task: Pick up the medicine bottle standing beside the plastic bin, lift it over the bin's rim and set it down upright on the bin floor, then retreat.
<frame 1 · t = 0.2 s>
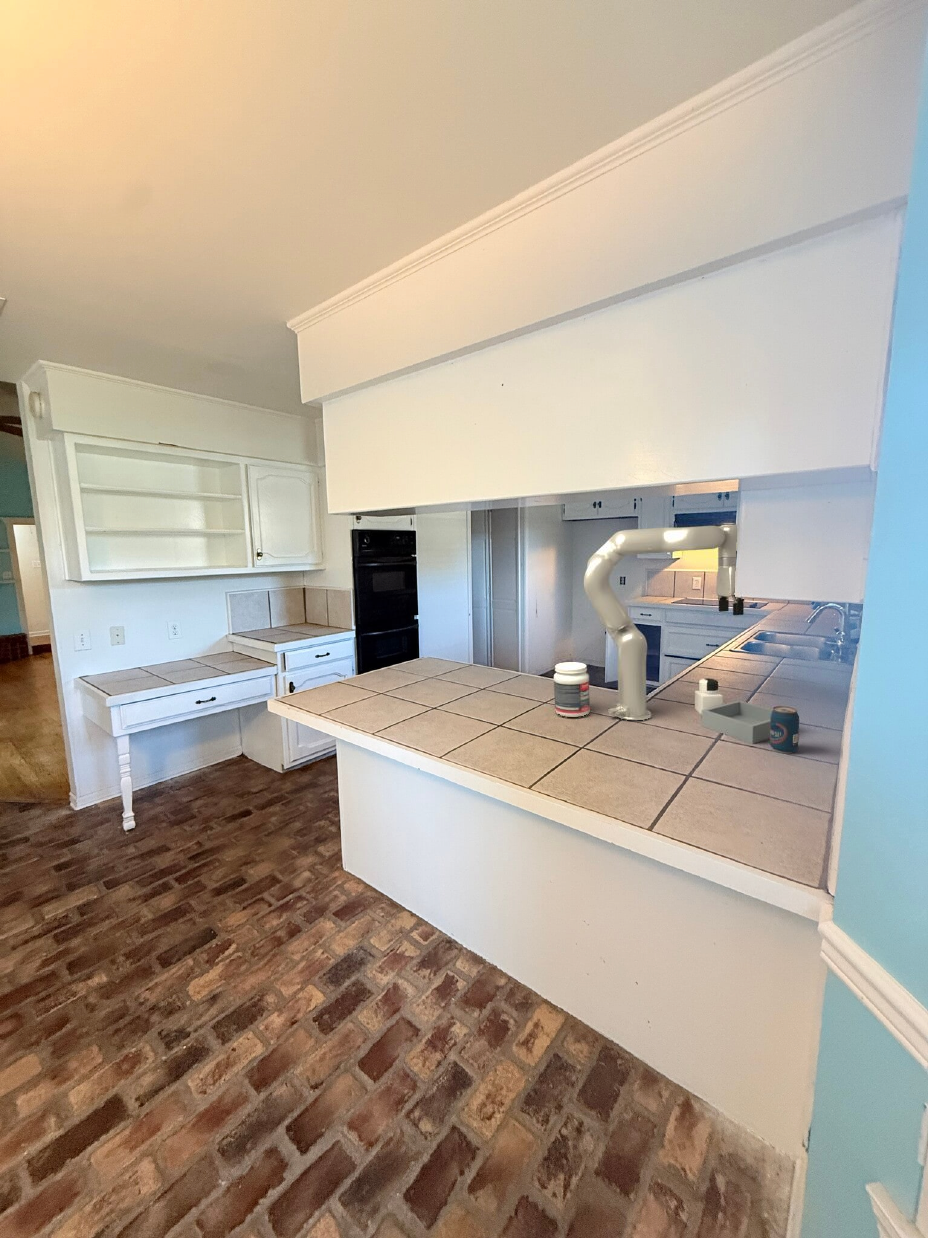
hand: (730, 613, 166), 36 cm above the table, tool pointing down, fingers open, 9 cm apart
supplement tub: (572, 714, 183), on the table
bin: (745, 728, 158), on the table
soda can: (783, 749, 142), on the table
medicine bottle: (708, 712, 175), on the table
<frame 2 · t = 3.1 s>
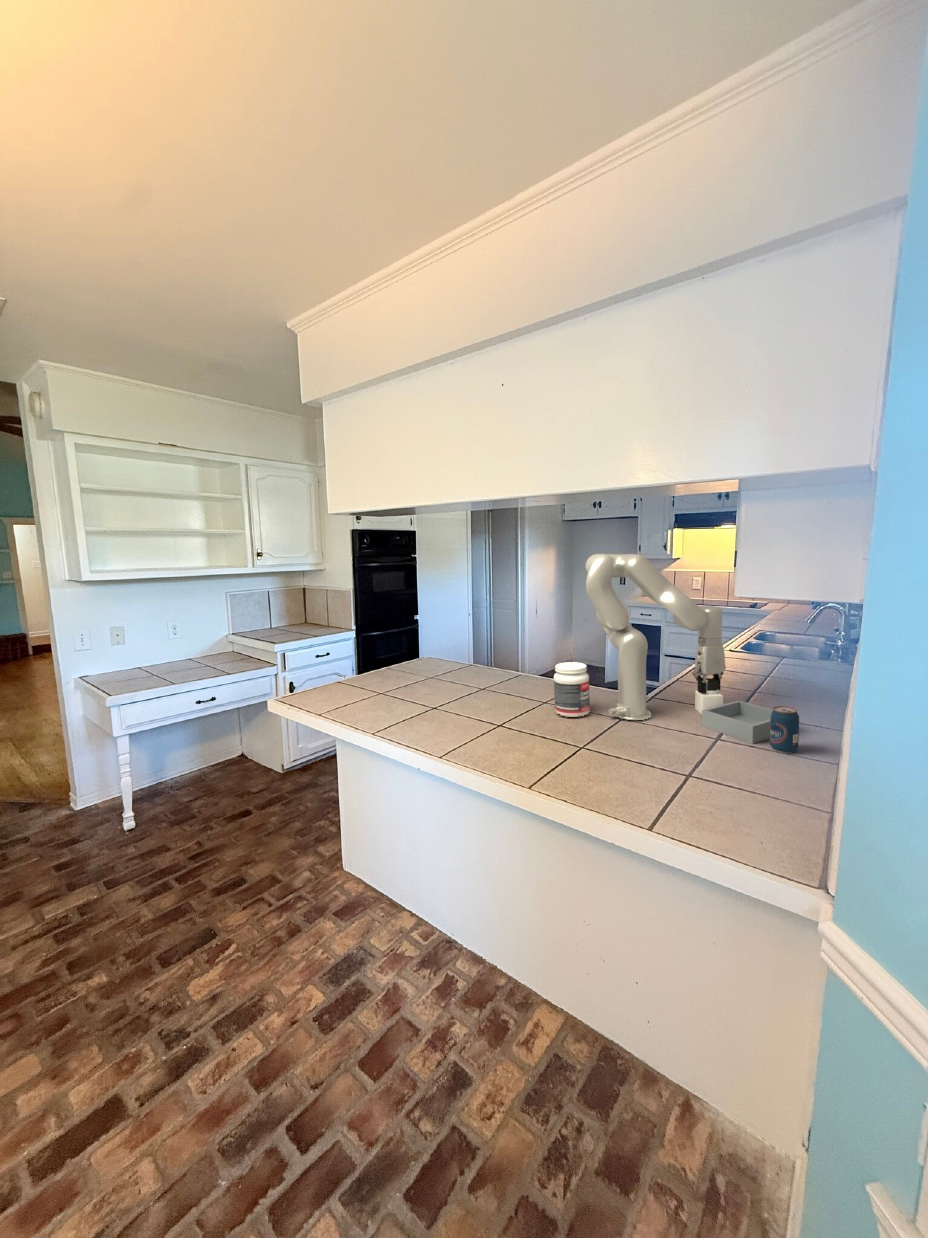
hand: (708, 690, 174), 8 cm above the table, tool pointing down, fingers closed on medicine bottle, 6 cm apart
medicine bottle: (708, 712, 175), on the table, touching gripper
everything else where it was.
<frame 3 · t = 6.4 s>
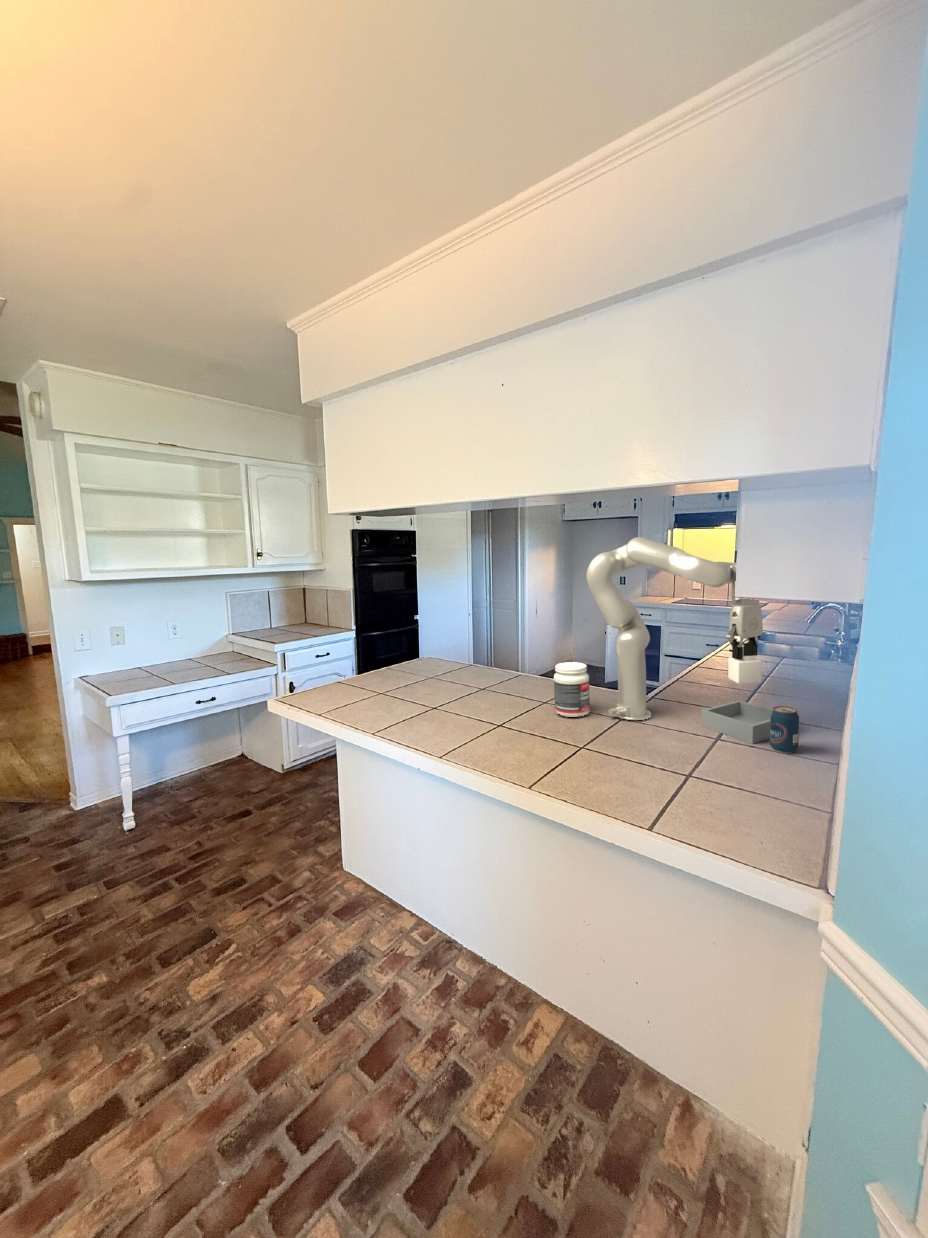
hand: (744, 656, 156), 24 cm above the table, tool pointing down, fingers closed on medicine bottle, 6 cm apart
medicine bottle: (744, 681, 157), point 16 cm above the table, touching gripper
everything else where it was.
when the fingers open (10 cm above the table, at t = 9.5 s): medicine bottle drops 1 cm, resting on bin.
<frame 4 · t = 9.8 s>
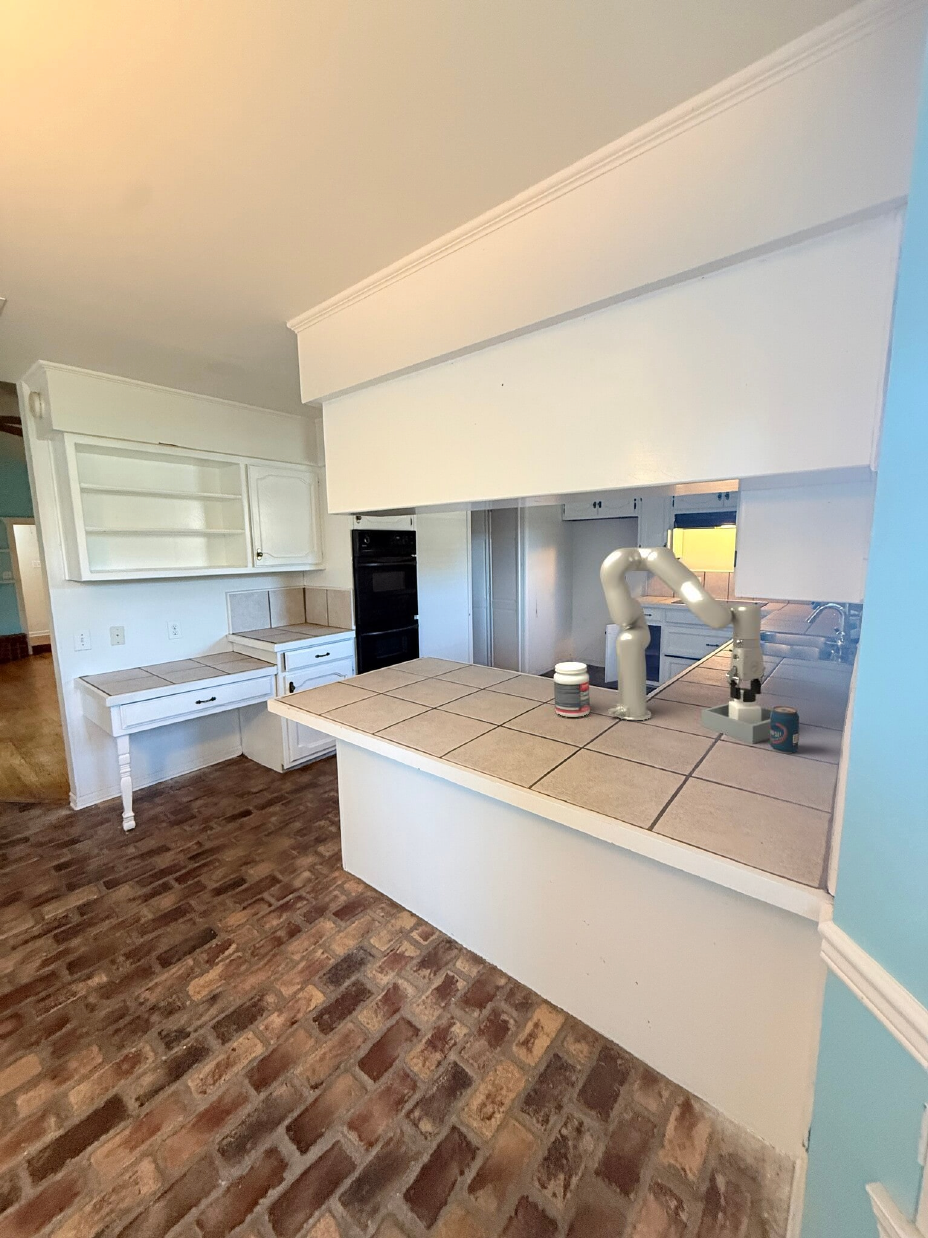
hand: (745, 695, 157), 11 cm above the table, tool pointing down, fingers open, 9 cm apart
medicine bottle: (744, 726, 158), point 1 cm above the table, touching bin
everything else where it was.
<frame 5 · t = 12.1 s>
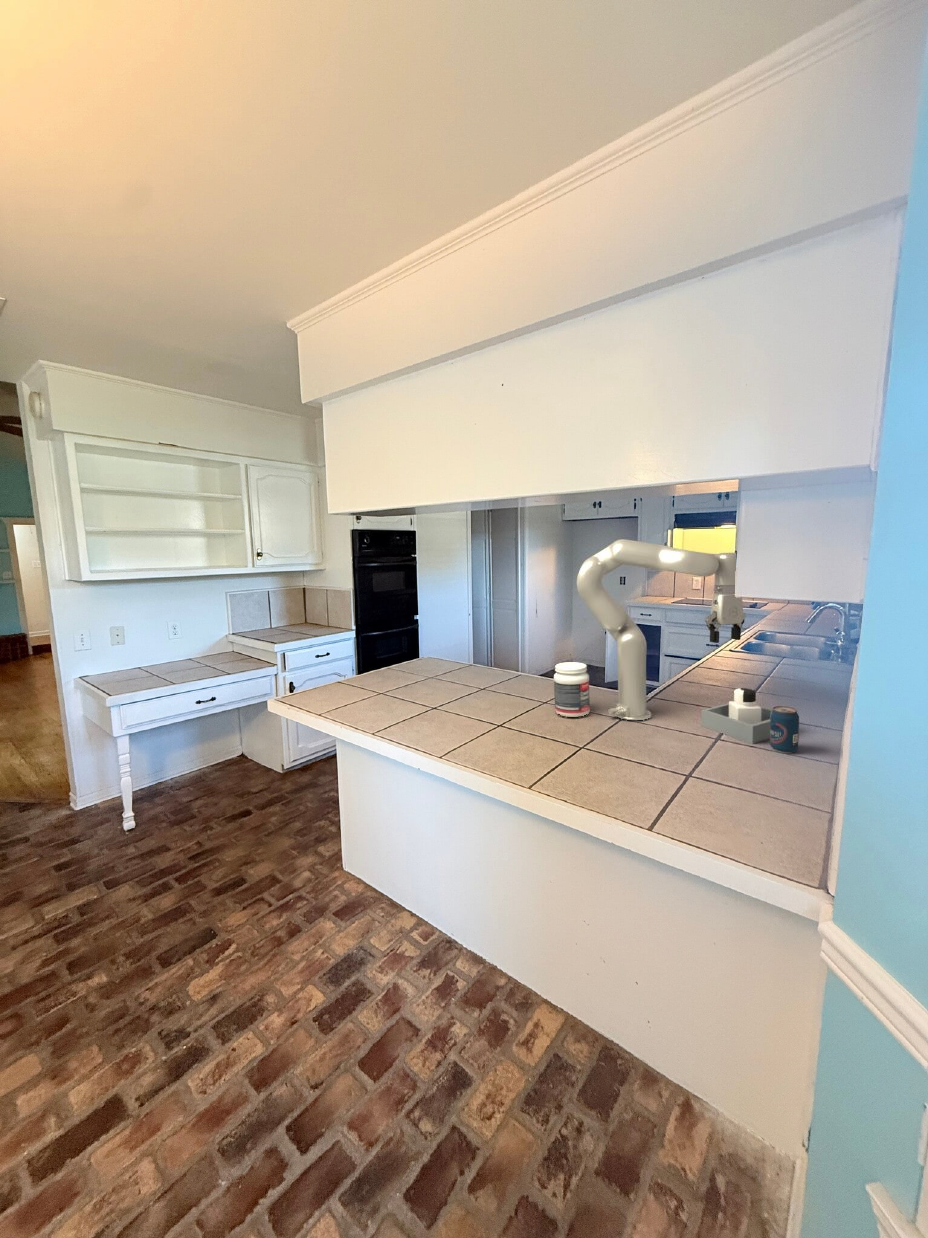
hand: (725, 640, 165), 27 cm above the table, tool pointing down, fingers open, 9 cm apart
nothing on the table moved.
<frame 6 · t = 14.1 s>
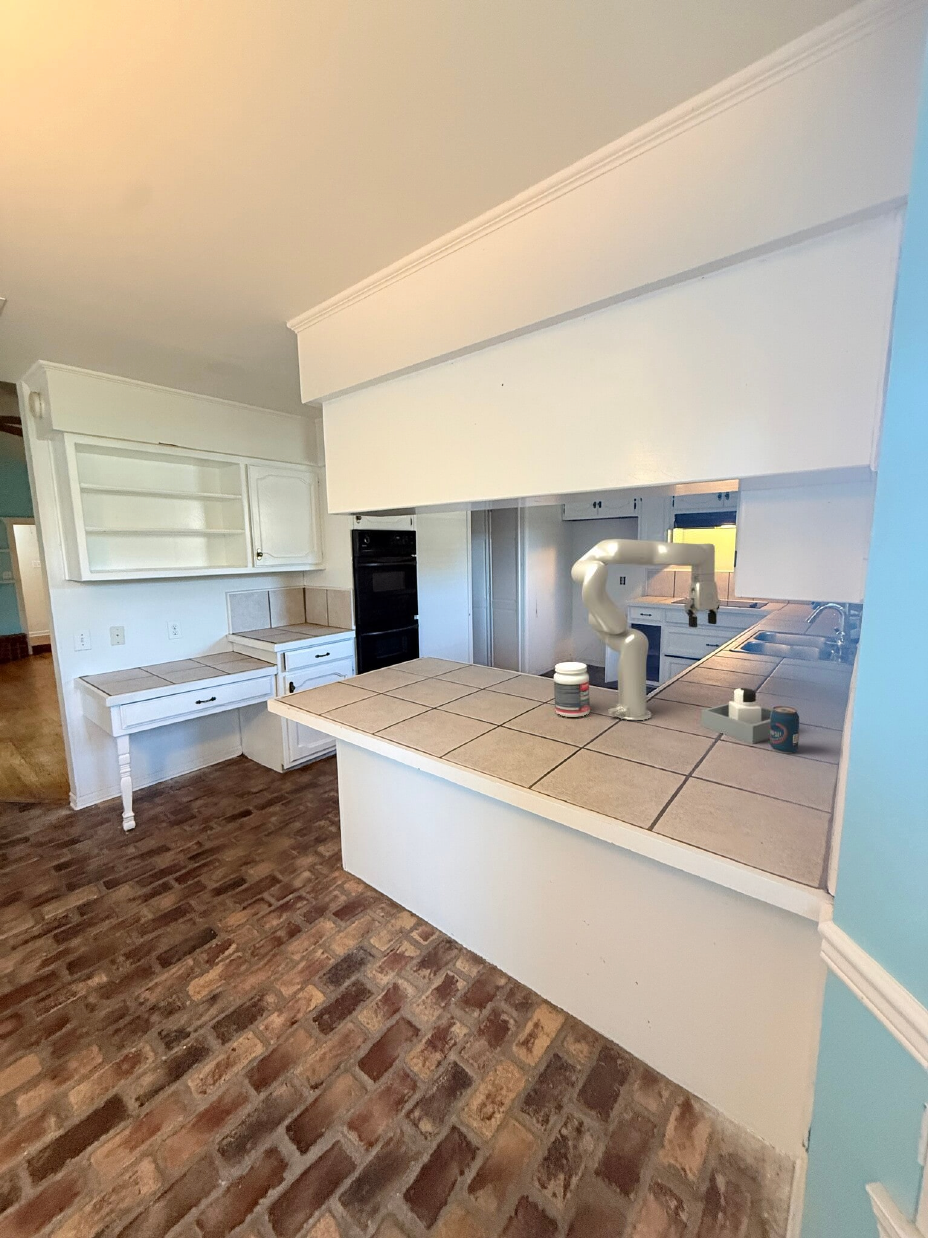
hand: (702, 625, 178), 30 cm above the table, tool pointing down, fingers open, 9 cm apart
nothing on the table moved.
at the end: medicine bottle inside the target area on the bin (0.3 cm from its centre), point 0.8 cm above the bin's base; medicine bottle tilted 0°; the gripper is holding nothing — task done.
